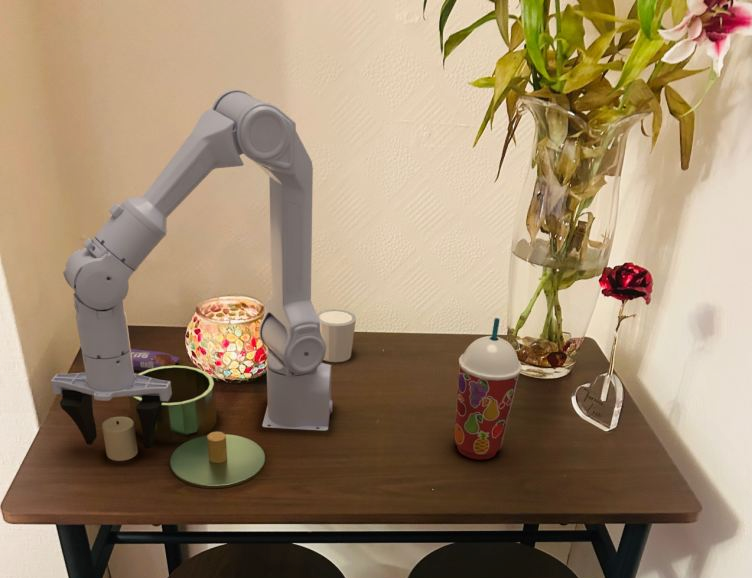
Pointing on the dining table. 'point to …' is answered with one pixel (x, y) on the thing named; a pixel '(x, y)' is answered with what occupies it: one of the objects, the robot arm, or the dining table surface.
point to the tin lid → (217, 461)
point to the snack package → (151, 359)
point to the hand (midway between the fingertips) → (120, 442)
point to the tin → (181, 404)
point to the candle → (119, 438)
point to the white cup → (337, 334)
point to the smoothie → (485, 395)
